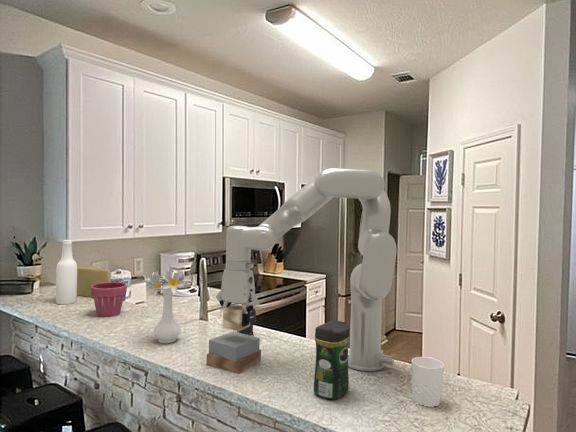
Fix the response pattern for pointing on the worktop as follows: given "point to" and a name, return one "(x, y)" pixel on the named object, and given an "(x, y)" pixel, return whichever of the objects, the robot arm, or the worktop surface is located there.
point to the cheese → (90, 279)
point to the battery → (250, 329)
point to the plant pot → (108, 298)
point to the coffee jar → (331, 360)
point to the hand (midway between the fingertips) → (236, 323)
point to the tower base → (233, 362)
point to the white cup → (427, 381)
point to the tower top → (234, 345)
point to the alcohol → (66, 276)
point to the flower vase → (166, 304)
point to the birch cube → (233, 318)
